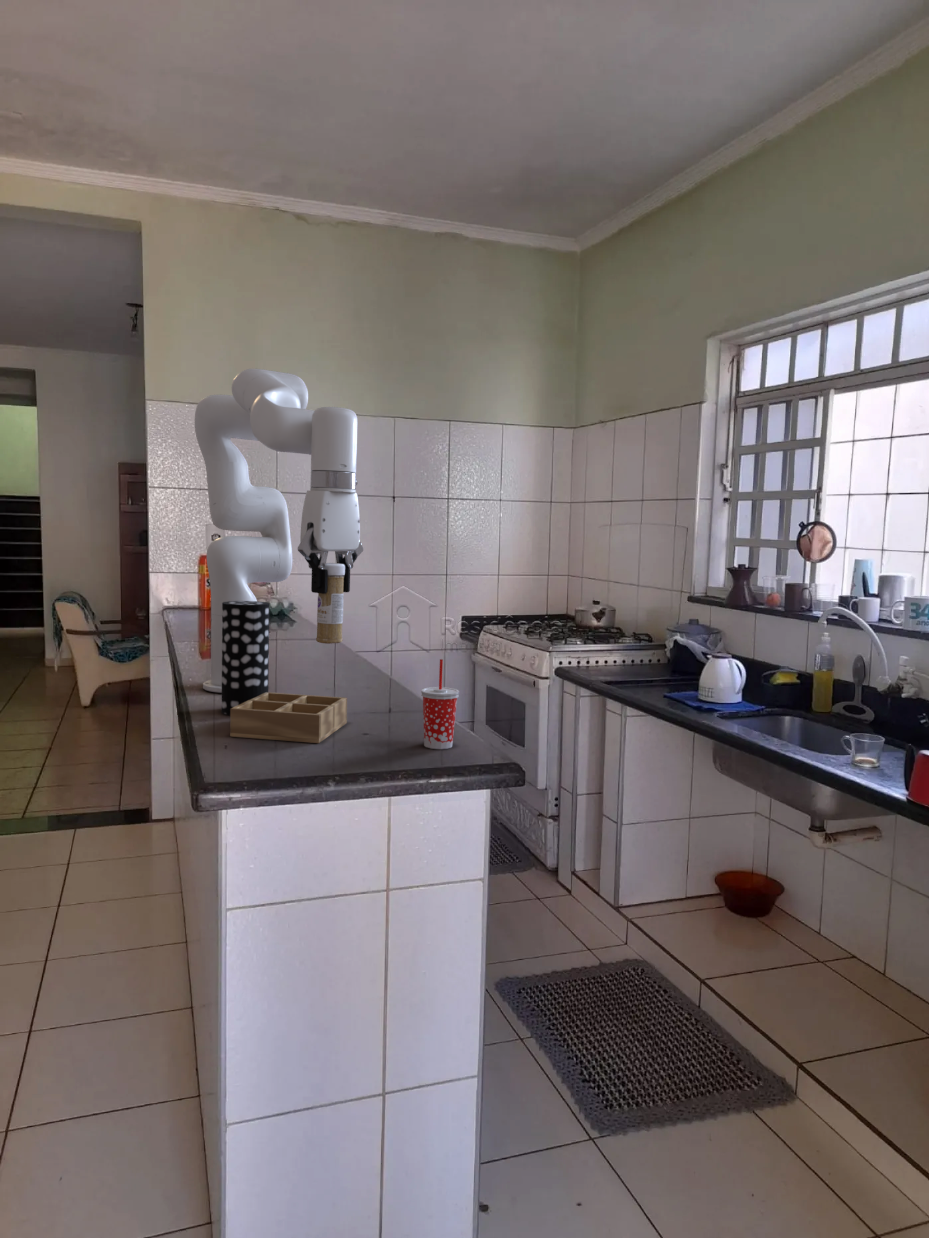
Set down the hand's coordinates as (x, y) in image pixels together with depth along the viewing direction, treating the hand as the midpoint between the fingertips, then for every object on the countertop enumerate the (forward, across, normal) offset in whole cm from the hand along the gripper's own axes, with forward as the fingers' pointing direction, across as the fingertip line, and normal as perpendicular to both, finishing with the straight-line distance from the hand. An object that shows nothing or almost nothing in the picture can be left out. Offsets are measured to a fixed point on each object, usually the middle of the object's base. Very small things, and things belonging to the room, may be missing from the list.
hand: (330, 591), depth 146 cm
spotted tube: (+24, +2, -20) cm, 31 cm away
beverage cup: (+24, -3, +22) cm, 32 cm away
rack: (+24, +6, -3) cm, 24 cm away
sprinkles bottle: (+9, 0, 0) cm, 9 cm away
